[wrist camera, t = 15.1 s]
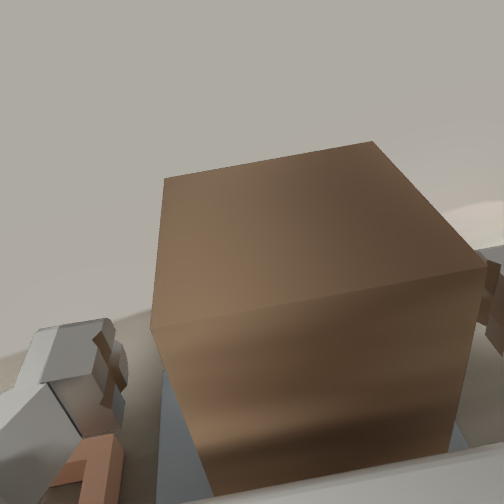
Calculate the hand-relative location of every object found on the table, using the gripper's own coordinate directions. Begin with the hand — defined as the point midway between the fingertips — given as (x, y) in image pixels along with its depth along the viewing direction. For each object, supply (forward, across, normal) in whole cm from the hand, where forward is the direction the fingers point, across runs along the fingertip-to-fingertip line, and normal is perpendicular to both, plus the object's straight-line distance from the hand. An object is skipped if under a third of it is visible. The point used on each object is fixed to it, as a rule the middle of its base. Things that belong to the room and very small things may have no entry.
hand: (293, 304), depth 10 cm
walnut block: (-1, 0, +7) cm, 7 cm away
